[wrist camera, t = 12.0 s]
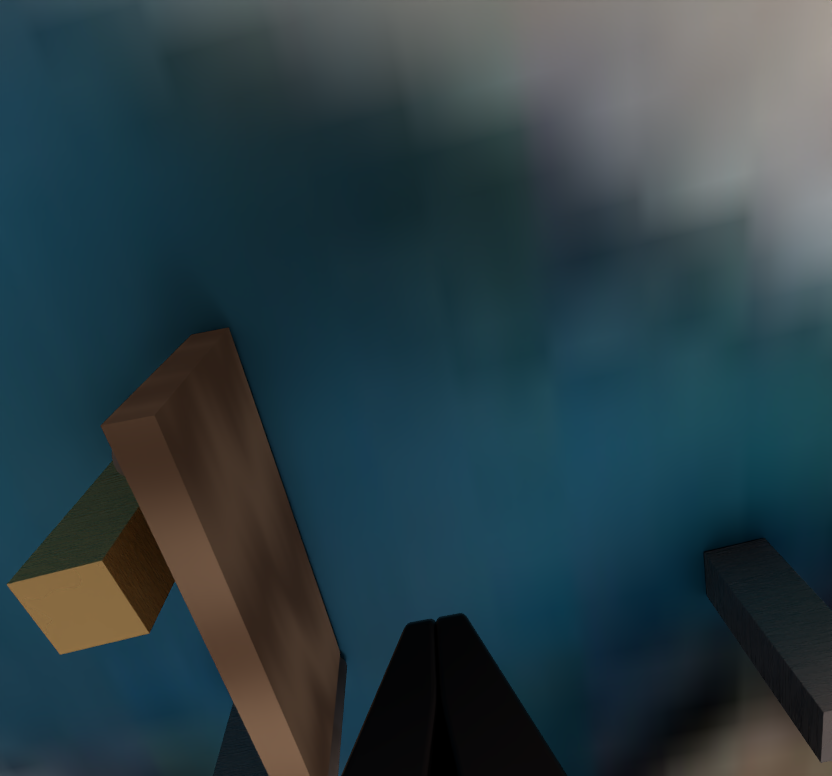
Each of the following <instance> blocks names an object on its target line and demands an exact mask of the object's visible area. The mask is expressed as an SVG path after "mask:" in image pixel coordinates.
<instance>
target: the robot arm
mask: <svg viewBox="0 0 832 776" xmlns="http://www.w3.org/2000/svg"><path fill="white" fill-rule="evenodd" d="M341 776H567V774H566V773H565V771H564V770H563V768H562V767H561V765H560V763H559V762H558V760H557V759H556V757H555V755H554V754H553V752H552V751H551V749H550V748H549V746H548V744H547V743H546V741H545V740H544V738H543V736H542V735H541V733H540V732H539V730H538V729H537V727H536V725H535V724H534V722H533V721H532V719H531V718H530V716H529V714H528V713H527V711H526V710H525V708H524V706H523V705H522V703H521V702H520V700H519V699H518V697H517V695H516V694H515V692H514V691H513V689H512V687H511V686H510V684H509V683H508V681H507V680H506V678H505V676H504V675H503V673H502V672H501V670H500V669H499V667H498V665H497V664H496V662H495V661H494V659H493V657H492V656H491V654H490V653H489V651H488V650H487V648H486V646H485V645H484V643H483V642H482V640H481V638H480V637H479V635H478V634H477V632H476V631H475V629H474V627H473V626H472V624H471V623H470V621H469V620H468V618H467V617H466V615H464V614H463V613H458V614H453V615H447V616H442V617H439V618H438V619H437V621H436V622H435V620H433V619H426V620H421V621H415V622H410V623H408V624H407V625H406V626H405V628H404V630H403V632H402V635H401V637H400V639H399V642H398V644H397V646H396V649H395V651H394V653H393V656H392V658H391V660H390V663H389V665H388V667H387V670H386V672H385V674H384V677H383V679H382V682H381V684H380V686H379V689H378V691H377V693H376V696H375V698H374V700H373V703H372V705H371V707H370V710H369V712H368V714H367V717H366V719H365V721H364V724H363V726H362V728H361V731H360V733H359V735H358V738H357V740H356V742H355V745H354V747H353V749H352V752H351V754H350V756H349V759H348V761H347V763H346V766H345V768H344V770H343V773H342V775H341Z"/></svg>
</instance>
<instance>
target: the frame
mask: <svg viewBox="0 0 832 776" xmlns="http://www.w3.org/2000/svg"><path fill="white" fill-rule="evenodd" d="M704 561H705V576H706V590H707V597H708V598H709V600H710V601H711V603H712V604H713V606H714V607H715V609H716V610H717V611H718V613H719V614H720V616H721V617H722V619H723V620H724V622H725V623H726V625H727V626H728V628H729V629H730V630H731V632H732V633H733V635H734V636H735V638H736V639H737V641H738V642H739V644H740V645H741V647H742V648H743V650H744V651H745V652H746V654H747V655H748V657H749V658H750V660H751V661H752V663H753V664H754V666H755V667H756V669H757V670H758V671H759V673H760V674H761V676H762V677H763V679H764V680H765V682H766V683H767V685H768V686H769V688H770V689H771V690H772V692H773V693H774V695H775V696H776V698H777V699H778V701H779V702H780V704H781V705H782V707H783V708H784V709H785V711H786V712H787V714H788V715H789V717H790V718H791V720H792V721H793V723H794V724H795V726H796V727H797V728H798V730H799V731H800V733H801V734H802V736H803V737H804V739H805V740H806V742H807V743H808V745H809V746H810V747H811V749H812V750H813V752H814V753H815V755H816V756H817V758H818V759H819V761H820V762H821V763H822V762H827V761H832V611H831V609H830V608H829V607H828V606H827V605H826V604H825V603H824V602H823V601H822V600H821V599H820V598H819V597H818V595H817V594H816V593H815V592H814V591H813V590H812V589H811V588H810V587H809V586H808V585H807V584H806V582H805V581H804V580H803V579H802V578H801V577H800V576H799V575H798V574H797V573H796V572H795V571H794V569H793V568H792V567H791V566H790V565H789V564H788V563H787V562H786V561H785V560H784V559H783V558H782V556H781V555H780V554H779V553H778V552H777V551H776V550H775V549H774V548H773V547H772V546H771V545H770V544H769V542H768V541H767V540H766V539H765V538H764V539H759V540H755V541H751V542H746V543H742V544H738V545H734V546H729V547H725V548H721V549H716V550H712V551H708V552H704ZM174 582H175V579H174V577H173V575H172V573H171V571H170V569H169V567H168V565H167V563H166V561H165V559H164V557H163V554H162V552H161V550H160V548H159V546H158V544H157V542H156V540H155V538H154V536H153V534H152V532H151V530H150V527H149V525H148V523H147V521H146V519H145V517H144V515H143V513H142V511H141V509H140V507H139V505H138V502H137V500H136V498H135V496H134V494H133V492H132V490H131V488H130V486H129V484H128V482H127V480H126V478H125V476H123V475H121V474H120V473H119V472H118V471H117V470H116V468H115V466H114V463H113V461H112V462H111V463H110V464H109V465H108V467H107V468H106V469H105V470H104V471H103V472H102V474H101V475H100V476H99V477H98V478H97V479H96V481H95V482H94V483H93V484H92V485H91V486H90V488H89V489H88V490H87V491H86V492H85V493H84V495H83V496H82V497H81V498H80V499H79V501H78V502H77V503H76V504H75V505H74V506H73V508H72V509H71V510H70V511H69V512H68V513H67V515H66V516H65V517H64V518H63V519H62V520H61V522H60V523H59V524H58V525H57V526H56V527H55V529H54V530H53V531H52V532H51V533H50V534H49V536H48V537H47V538H46V539H45V540H44V541H43V543H42V544H41V545H40V546H39V547H38V548H37V550H36V551H35V552H34V553H33V554H32V555H31V557H30V558H29V559H28V560H27V561H26V562H25V564H24V565H23V566H22V567H21V568H20V569H19V571H18V572H17V573H16V574H15V575H14V577H13V578H12V579H11V580H10V581H9V582H8V584H7V585H8V587H9V588H10V589H11V591H12V592H13V593H14V595H15V596H16V597H17V599H18V600H19V601H20V603H21V604H22V605H23V606H24V608H25V609H26V610H27V612H28V613H29V614H30V616H31V617H32V618H33V620H34V621H35V622H36V624H37V625H38V626H39V627H40V629H41V630H42V631H43V633H44V634H45V635H46V637H47V638H48V639H49V641H50V642H51V643H52V644H53V646H54V647H55V648H56V650H57V651H58V652H59V654H60V655H61V654H65V653H69V652H73V651H77V650H82V649H86V648H90V647H94V646H98V645H103V644H107V643H111V642H115V641H119V640H124V639H128V638H132V637H136V636H140V635H144V634H149V633H150V631H151V629H152V627H153V625H154V623H155V621H156V619H157V617H158V614H159V612H160V610H161V608H162V606H163V604H164V602H165V600H166V598H167V596H168V594H169V592H170V590H171V588H172V586H173V584H174ZM213 776H269V775H268V773H267V771H266V769H265V767H264V765H263V762H262V760H261V758H260V756H259V754H258V752H257V750H256V748H255V746H254V744H253V742H252V740H251V738H250V735H249V733H248V731H247V729H246V727H245V725H244V723H243V721H242V719H241V717H240V715H239V713H238V710H237V708H236V706H235V704H234V702H233V705H232V709H231V713H230V716H229V720H228V723H227V727H226V731H225V734H224V738H223V741H222V745H221V749H220V752H219V756H218V759H217V763H216V767H215V770H214V774H213Z"/></svg>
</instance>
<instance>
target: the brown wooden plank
mask: <svg viewBox="0 0 832 776" xmlns="http://www.w3.org/2000/svg"><path fill="white" fill-rule="evenodd" d="M101 428H102V430H103V432H104V434H105V436H106V438H107V440H108V442H109V444H110V446H111V448H112V459H113V463H114V466H115V468H116V470H117V471H118V472H119V473H120V474H121V475H123V476H125V478H126V480H127V482H128V484H129V486H130V488H131V490H132V492H133V494H134V496H135V498H136V500H137V502H138V505H139V507H140V509H141V511H142V513H143V515H144V517H145V519H146V521H147V523H148V525H149V527H150V530H151V532H152V534H153V536H154V538H155V540H156V542H157V544H158V546H159V548H160V550H161V552H162V554H163V557H164V559H165V561H166V563H167V565H168V567H169V569H170V571H171V573H172V575H173V577H174V579H175V582H176V584H177V586H178V588H179V590H180V592H181V594H182V596H183V598H184V600H185V602H186V604H187V606H188V609H189V611H190V613H191V615H192V617H193V619H194V621H195V623H196V625H197V627H198V629H199V631H200V634H201V636H202V638H203V640H204V642H205V644H206V646H207V648H208V650H209V652H210V654H211V656H212V658H213V661H214V663H215V665H216V667H217V669H218V671H219V673H220V675H221V677H222V679H223V681H224V683H225V686H226V688H227V690H228V692H229V694H230V696H231V698H232V700H233V702H234V704H235V706H236V708H237V710H238V713H239V715H240V717H241V719H242V721H243V723H244V725H245V727H246V729H247V731H248V733H249V735H250V738H251V740H252V742H253V744H254V746H255V748H256V750H257V752H258V754H259V756H260V758H261V760H262V762H263V765H264V767H265V769H266V771H267V773H268V775H269V776H338V769H339V757H340V745H341V733H342V721H343V709H344V697H345V685H346V673H347V664H346V662H345V660H344V659H343V658H341V657H340V650H339V647H338V645H337V642H336V639H335V636H334V633H333V630H332V627H331V624H330V621H329V618H328V615H327V612H326V610H325V607H324V604H323V601H322V598H321V595H320V592H319V589H318V586H317V583H316V580H315V578H314V575H313V572H312V569H311V566H310V563H309V560H308V557H307V554H306V551H305V548H304V545H303V543H302V540H301V537H300V534H299V531H298V528H297V525H296V522H295V519H294V516H293V513H292V511H291V508H290V505H289V502H288V499H287V496H286V493H285V490H284V487H283V484H282V481H281V478H280V476H279V473H278V470H277V467H276V464H275V461H274V458H273V455H272V452H271V449H270V446H269V443H268V441H267V438H266V435H265V432H264V429H263V426H262V423H261V420H260V417H259V414H258V411H257V409H256V406H255V403H254V400H253V397H252V394H251V391H250V388H249V385H248V382H247V379H246V376H245V374H244V371H243V368H242V365H241V362H240V359H239V356H238V353H237V350H236V347H235V344H234V342H233V339H232V336H231V333H230V330H229V327H228V328H223V329H218V330H213V331H208V332H203V333H197V334H192V335H191V336H190V337H189V338H188V339H187V340H186V341H185V342H184V343H183V344H182V345H181V346H180V347H179V348H178V349H177V350H176V351H175V352H174V353H173V354H172V355H171V356H170V357H169V358H168V359H167V360H166V361H165V362H164V363H163V364H162V365H161V366H160V367H159V368H158V369H157V370H156V371H155V372H154V373H153V374H152V375H151V376H150V377H149V378H148V379H147V380H146V381H145V382H144V383H143V384H142V385H141V386H140V387H139V388H138V389H137V390H136V391H135V392H134V393H133V394H132V395H131V396H130V397H129V398H128V399H127V400H126V401H125V402H124V403H123V404H122V405H121V406H120V407H119V408H118V409H117V410H116V411H115V412H114V413H113V414H112V415H111V416H110V417H109V418H108V419H107V420H106V421H105V422H104V423H103V424H102V425H101Z"/></svg>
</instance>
